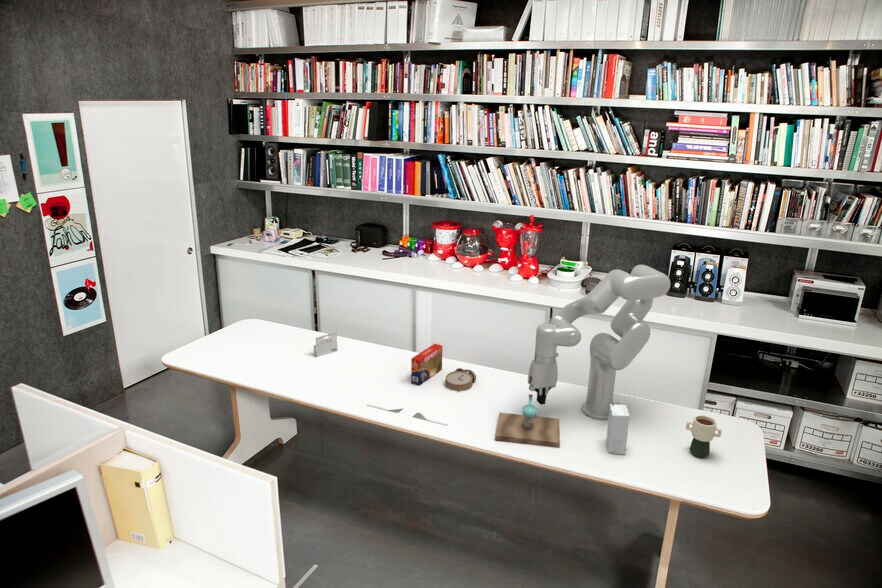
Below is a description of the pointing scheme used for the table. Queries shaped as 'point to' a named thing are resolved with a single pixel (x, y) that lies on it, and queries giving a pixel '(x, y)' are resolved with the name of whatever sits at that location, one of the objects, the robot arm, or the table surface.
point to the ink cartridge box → (325, 345)
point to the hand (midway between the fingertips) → (540, 402)
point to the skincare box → (617, 429)
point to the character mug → (702, 434)
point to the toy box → (426, 364)
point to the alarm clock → (460, 379)
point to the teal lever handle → (529, 409)
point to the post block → (528, 430)
